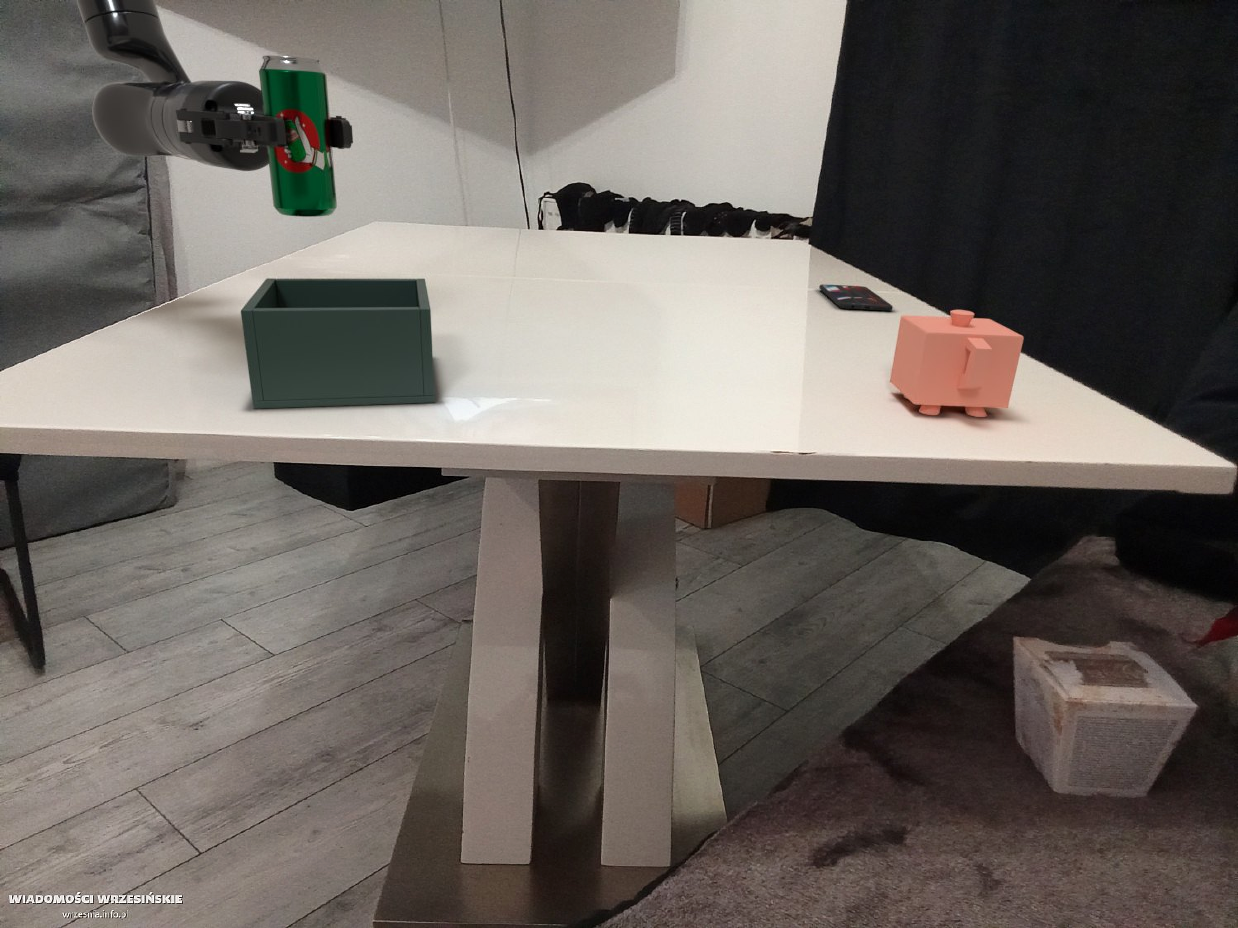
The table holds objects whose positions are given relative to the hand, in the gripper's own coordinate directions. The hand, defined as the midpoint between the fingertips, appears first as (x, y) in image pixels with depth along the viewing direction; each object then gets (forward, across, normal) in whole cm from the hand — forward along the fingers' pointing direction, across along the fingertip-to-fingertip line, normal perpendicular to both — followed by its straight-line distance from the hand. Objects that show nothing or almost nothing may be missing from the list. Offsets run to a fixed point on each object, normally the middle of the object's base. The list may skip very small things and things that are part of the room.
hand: (315, 133), depth 66 cm
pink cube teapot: (+41, +34, +20) cm, 57 cm away
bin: (+4, -1, +20) cm, 20 cm away
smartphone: (+12, +73, +20) cm, 77 cm away
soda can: (-3, 0, +7) cm, 7 cm away
